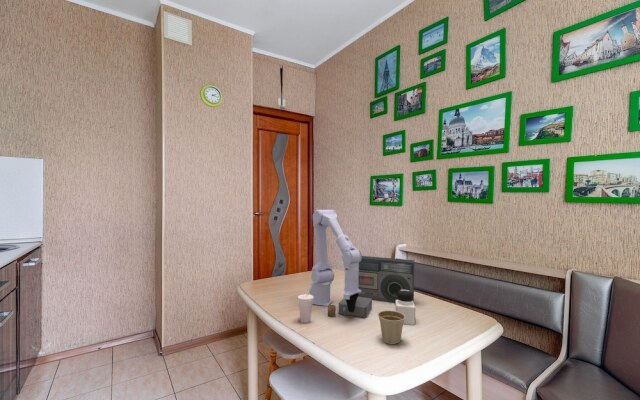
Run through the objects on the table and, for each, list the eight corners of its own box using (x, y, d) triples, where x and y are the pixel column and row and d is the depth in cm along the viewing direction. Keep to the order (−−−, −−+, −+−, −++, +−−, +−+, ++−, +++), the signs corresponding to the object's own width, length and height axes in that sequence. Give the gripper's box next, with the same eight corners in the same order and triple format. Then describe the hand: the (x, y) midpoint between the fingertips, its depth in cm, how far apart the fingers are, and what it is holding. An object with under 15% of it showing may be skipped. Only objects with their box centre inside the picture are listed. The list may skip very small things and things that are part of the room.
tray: (364, 317, 118) (364, 308, 118) (338, 313, 122) (338, 304, 122) (370, 307, 130) (370, 299, 130) (346, 304, 134) (346, 295, 134)
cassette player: (352, 297, 145) (352, 257, 145) (355, 293, 152) (356, 255, 152) (412, 306, 135) (413, 263, 135) (413, 301, 141) (414, 260, 141)
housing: (366, 317, 120) (366, 307, 120) (338, 313, 124) (338, 302, 124) (371, 308, 130) (371, 298, 130) (346, 304, 135) (346, 295, 135)
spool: (326, 316, 121) (326, 306, 121) (329, 313, 124) (329, 304, 124) (334, 317, 119) (334, 308, 119) (336, 314, 122) (336, 305, 122)
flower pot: (374, 334, 105) (374, 310, 105) (399, 333, 106) (399, 309, 106) (381, 347, 96) (382, 321, 96) (409, 346, 97) (409, 320, 97)
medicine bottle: (415, 325, 113) (415, 294, 113) (396, 323, 115) (396, 293, 115) (413, 318, 120) (413, 289, 120) (395, 316, 122) (395, 287, 122)
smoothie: (301, 325, 112) (301, 288, 112) (294, 319, 117) (295, 284, 117) (316, 322, 115) (316, 286, 115) (309, 316, 120) (309, 282, 120)
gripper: (356, 284, 112) (356, 319, 112) (364, 275, 125) (364, 307, 125) (339, 282, 114) (338, 316, 114) (349, 274, 128) (348, 304, 128)
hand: (351, 311), depth 120 cm, fingers closed
